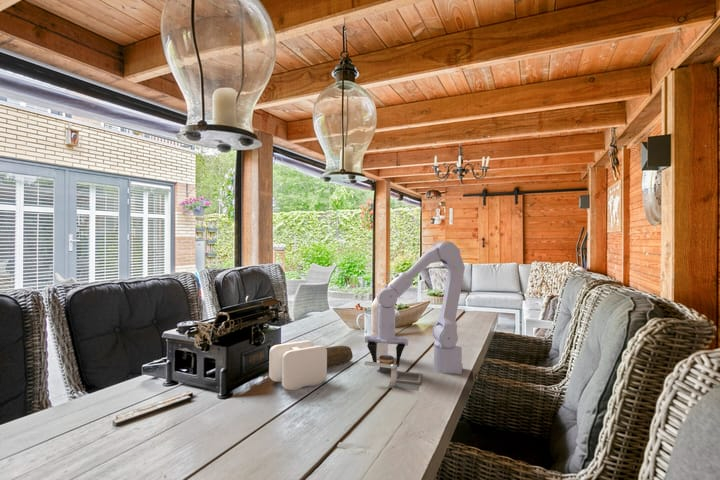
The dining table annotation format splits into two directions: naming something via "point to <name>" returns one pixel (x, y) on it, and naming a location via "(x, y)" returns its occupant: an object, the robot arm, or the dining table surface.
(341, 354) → the brown cylinder
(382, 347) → the water bottle
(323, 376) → the cable organizer
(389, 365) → the brushed metal lever
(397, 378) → the socket
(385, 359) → the plug
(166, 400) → the dining table surface
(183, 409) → the dining table surface
